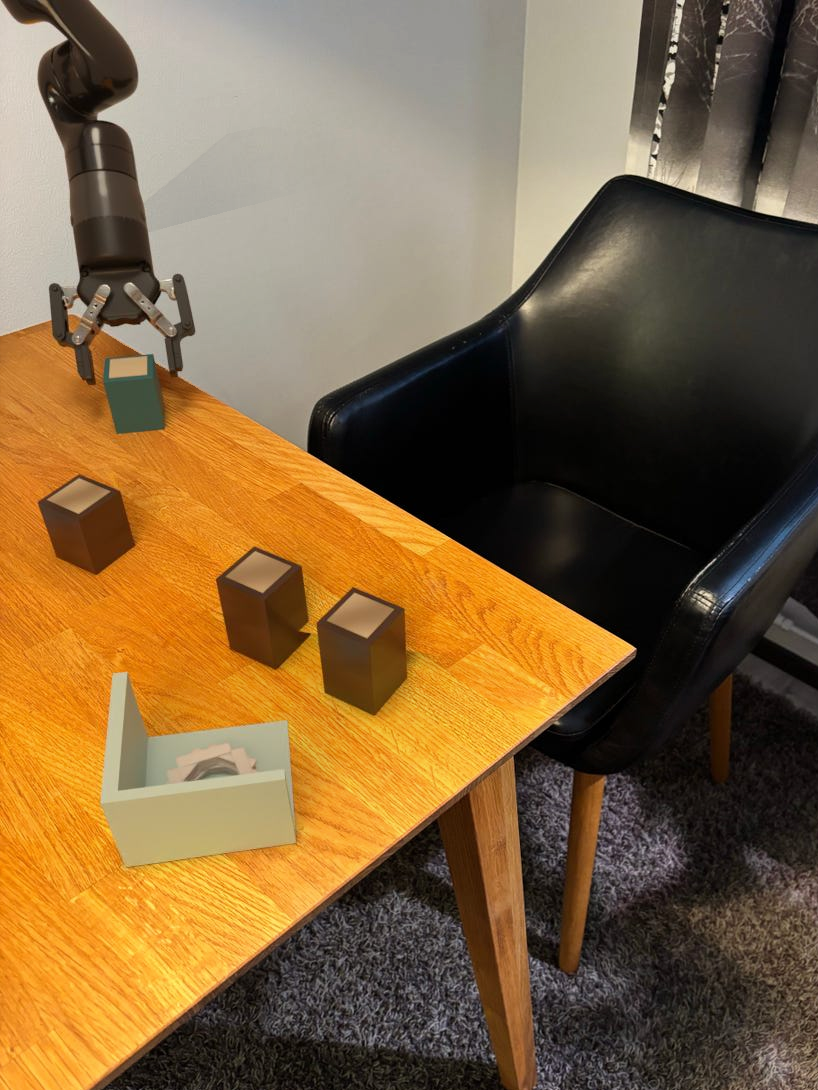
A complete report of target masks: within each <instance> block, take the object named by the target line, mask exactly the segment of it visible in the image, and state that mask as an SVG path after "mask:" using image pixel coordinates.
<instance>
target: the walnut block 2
mask: <svg viewBox="0 0 818 1090" xmlns="http://www.w3.org/2000/svg"><path fill="white" fill-rule="evenodd" d="M215 583H216V587H217V592H218V597H219V602H220V607H221V611H222V617H223V622H224V628H225V631H226V636H227V641H228V644H229V645H228V646H229V648H230V650H232V651H235V652H237V653H239V654H241V655H243V656H245V657H248V658H250V659H252V660H254V661H256V662H258V663H260V664H263V665H265V666H266V667H269V668H271V669H273V670H277V669H278V668H280V666H281V665H282V664H283V663H284V662H285V661H287V659H288V658H289V657H290V656H291V655H292V654H293V653H294V652H295V651H296V650H297V649H298V648H299V647H300V646H301V645H302V644H304V642H305V641H306V640H307V639H308V638H309V637H310V636H311V633H310V632H306V631H301V630H302V629H303V628H304V626H306V625H307V623H309V621H310V620H309V612H308V604H307V596H306V590H305V589H306V588H305V580H304V572H303V567H302V565H301V564H298V563H296V562H293V561H291V560H289V559H286V558H284V557H281V556H279V555H276V554H275V553H271V552H269V551H267V550H264V549H262V548H260V547H257V546H252V547H251V548H250V549H249V550H248V551H247V552H246V553H244V554H243V555H242V556H241V557H240V558H239V559H237V560H236V561H235V562H233V564H232V565H230V566H229V567H228V568H226V570H225V571H223V572H222V573H221V574H220V575H218V576H217V577H216V578H215Z"/></svg>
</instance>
